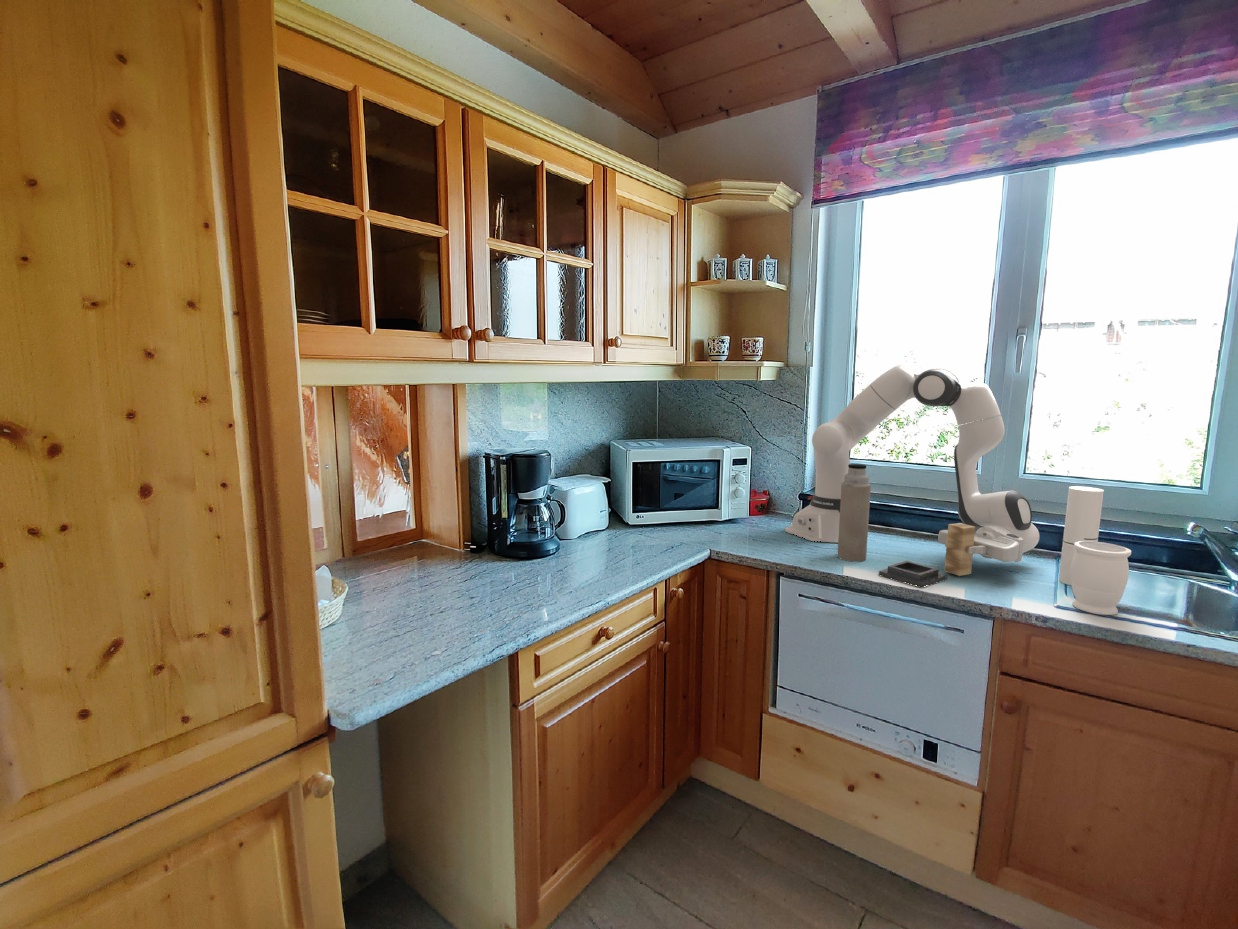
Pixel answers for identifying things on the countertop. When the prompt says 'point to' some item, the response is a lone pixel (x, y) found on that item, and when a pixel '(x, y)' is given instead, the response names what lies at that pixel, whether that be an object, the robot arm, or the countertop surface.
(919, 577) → the dark rectangular socket base
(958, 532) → the oak wick peg
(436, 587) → the countertop surface
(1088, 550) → the jar
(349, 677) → the countertop surface
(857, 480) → the thermos bottle
